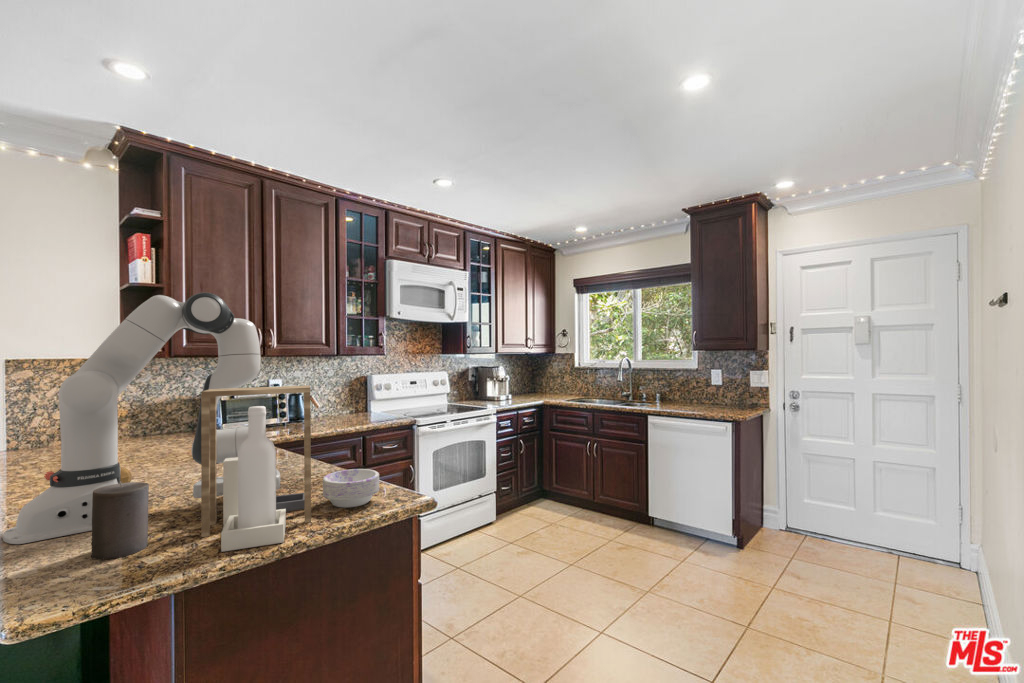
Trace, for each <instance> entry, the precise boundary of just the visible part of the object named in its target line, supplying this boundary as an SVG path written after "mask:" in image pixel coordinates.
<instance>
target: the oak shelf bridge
mask: <svg viewBox="0 0 1024 683" xmlns="http://www.w3.org/2000/svg"><path fill="white" fill-rule="evenodd" d="M298 393H299V394H301V393H303V449H304V450H303V452H304V453H303V459H304V460H303V462H304V463H303V464H304V465H303V466H304V468H303V471H304V473H303V474H304V478H303V479H304V482H303V485H304V490H303V491H304V492H303V493H304V494H305V509H304V523H305V524H306V523H307V524H308V523H312V462H311V461H312V459H311V457H312V456H311V455H312V453H311V452H312V448H311V446H312V445H311V442H312V440H311V439H312V438H311V435H312V434H311V433H312V432H311V428H312V427H311V420H312V419H311V418H312V417H311V385H310V384H309V385H286V386H285V385H284V386H282V385H281V386H262V387H261V386H260V387H238V388H229V389H209V390H205V391H203V390H202V391H201V392H200V394H201V395H200V396H201V398H200V399H201V400H200V404H201V464H200V465H201V468H200V470H201V471H200V472H201V475H200V476H201V478H200V479H201V498H200V500H201V503H200V504H201V509H200V511H201V513H200V514H201V517H200V519H201V520H200V521H201V523H200V524H201V530H200V531H201V532H200V533H201V537H200V538H207V537H210V535H211V526H214V525H217V520H218V519H217V509H218V508H217V496H216V477H217V464H216V429H217V410H216V396H222V397H231V396H233V397H234V396H253V395H276V394H298Z"/></svg>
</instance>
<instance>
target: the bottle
mask: <svg viewBox="0 0 1024 683" xmlns="http://www.w3.org/2000/svg"><path fill="white" fill-rule="evenodd" d="M266 415H267V408H266V406H264V405H256V406H249V407H248V410H247V419H248V420H247V425H248V438H247V439H246V440H245V441H244V442H243V443H242V444H241V447H240V449H239V452H238V529H242V528H250V527H257V526H264V525H271V524H277V520H276V496H277V489H276V469H277V455H276V454H277V450H276V447H275V443H274V442H273V440H271V439H270V438H269V437H268V436H267V432H266V431H267V430H266V429H267V426H266V425H267V424H266V422H267V421H266V420H267V419H266V418H267V416H266Z"/></svg>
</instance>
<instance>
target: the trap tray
mask: <svg viewBox="0 0 1024 683" xmlns="http://www.w3.org/2000/svg"><path fill="white" fill-rule="evenodd" d="M279 509H286V512H291V511H299V510H305V494H304V492H300V493H299V492H296V493H289V494H280V495H276V510H279Z"/></svg>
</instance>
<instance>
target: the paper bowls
mask: <svg viewBox="0 0 1024 683" xmlns="http://www.w3.org/2000/svg"><path fill="white" fill-rule="evenodd" d="M379 491H380V473H379V472H378V471H376V470H374V469H369V468H352V469H345V470H344V469H343V470H339V471H338V470H337V471H334V472H331V473H328V474H326V475H324V477H322V496H323V498H324V499H327V500H329V501H330V502H331V504H332V505H333V506H334V507H337V508H343V509H344V508H345V509H346V508H348V509H349V508H356V507H360V506H363V505H366V504H368V503H369V502H370V501H371V500H372V498H373V496H374V495H375V494H377V493H378V492H379Z"/></svg>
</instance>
